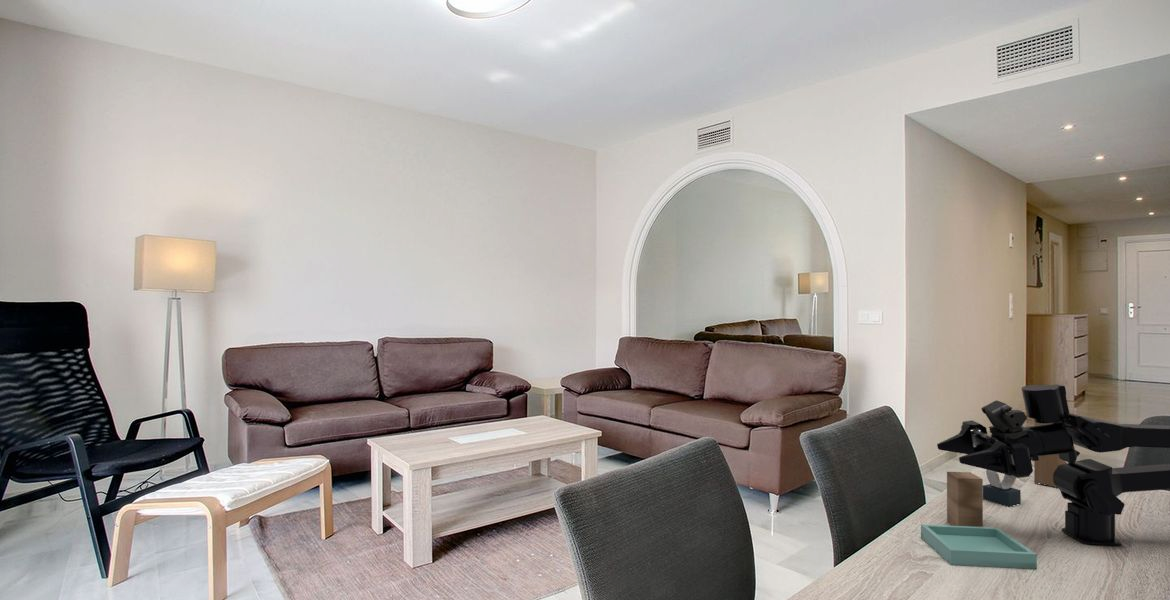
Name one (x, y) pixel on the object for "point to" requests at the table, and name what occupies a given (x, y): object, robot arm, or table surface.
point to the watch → (1001, 490)
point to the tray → (978, 546)
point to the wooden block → (1046, 467)
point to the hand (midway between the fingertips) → (948, 453)
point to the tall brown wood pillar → (964, 499)
